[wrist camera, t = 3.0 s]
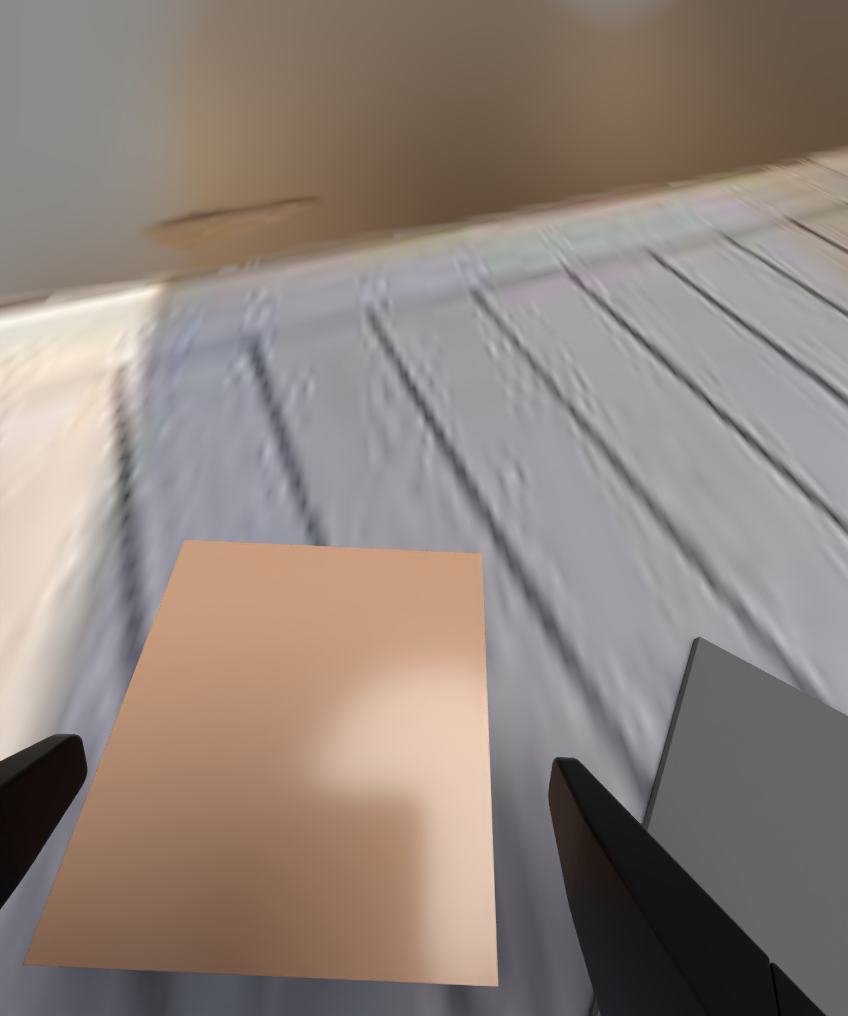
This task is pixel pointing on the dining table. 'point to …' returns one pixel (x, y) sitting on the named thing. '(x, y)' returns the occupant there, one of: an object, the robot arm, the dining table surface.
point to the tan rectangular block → (294, 777)
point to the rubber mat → (761, 814)
